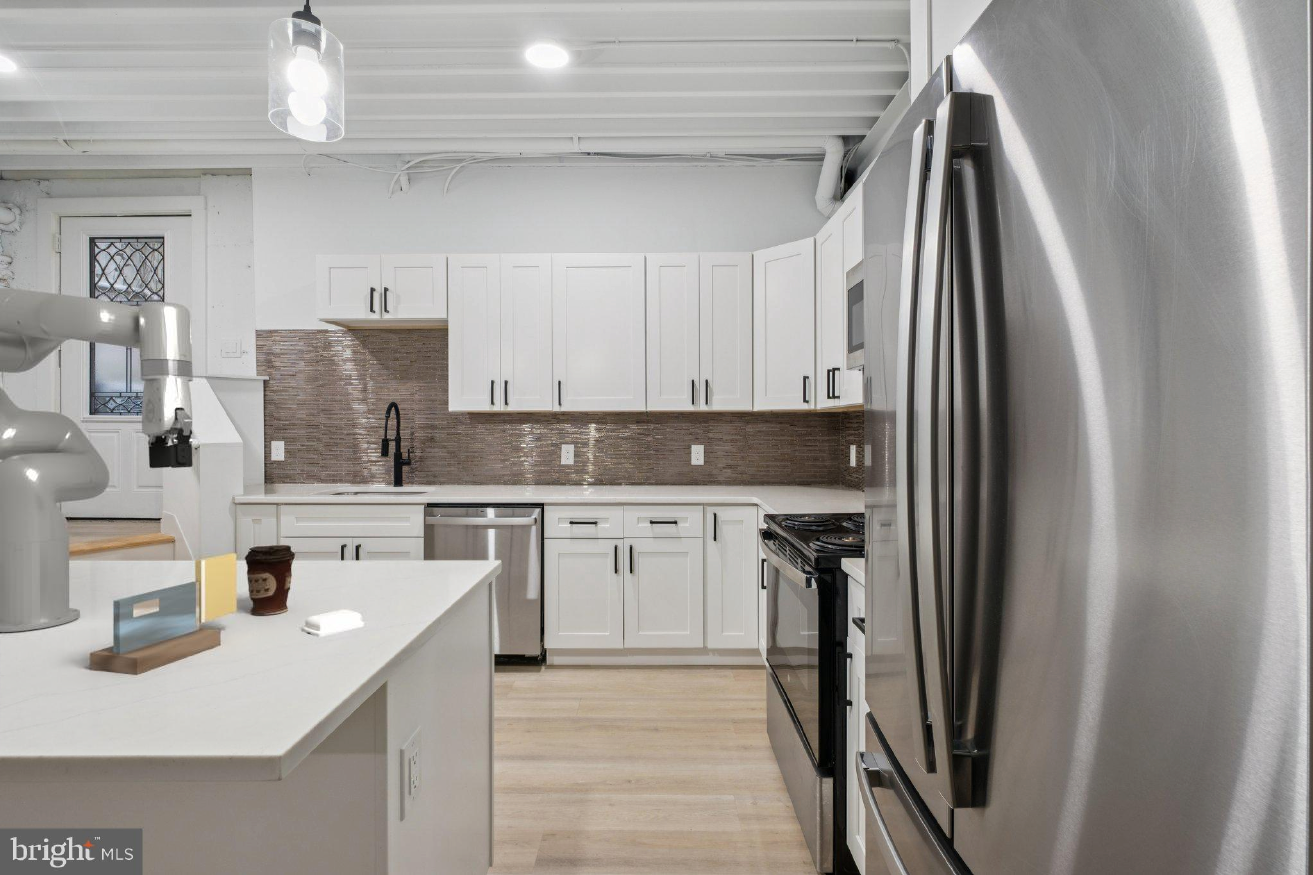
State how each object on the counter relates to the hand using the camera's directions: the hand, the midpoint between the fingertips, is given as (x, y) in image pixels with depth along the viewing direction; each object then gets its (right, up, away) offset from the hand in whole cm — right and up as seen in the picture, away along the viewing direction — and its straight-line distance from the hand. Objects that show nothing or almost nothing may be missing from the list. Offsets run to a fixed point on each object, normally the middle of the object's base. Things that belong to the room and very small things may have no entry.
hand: (170, 467), depth 118 cm
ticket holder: (+8, -30, -14) cm, 34 cm away
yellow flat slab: (+11, -26, -4) cm, 28 cm away
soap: (+28, -30, +2) cm, 41 cm away
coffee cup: (+10, -30, +13) cm, 34 cm away
